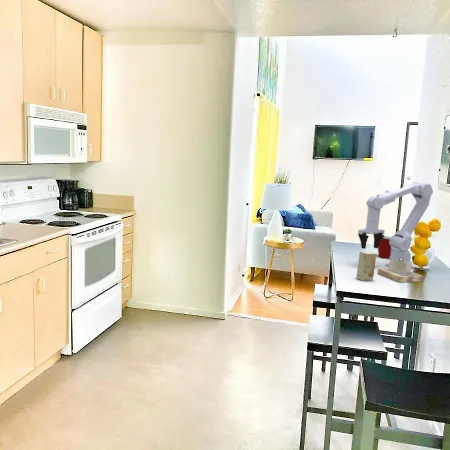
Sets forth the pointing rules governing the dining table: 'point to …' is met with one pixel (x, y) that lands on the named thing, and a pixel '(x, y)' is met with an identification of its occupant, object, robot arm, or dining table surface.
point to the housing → (400, 266)
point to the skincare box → (366, 266)
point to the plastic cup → (384, 248)
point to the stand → (400, 276)
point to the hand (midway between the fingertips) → (369, 248)
